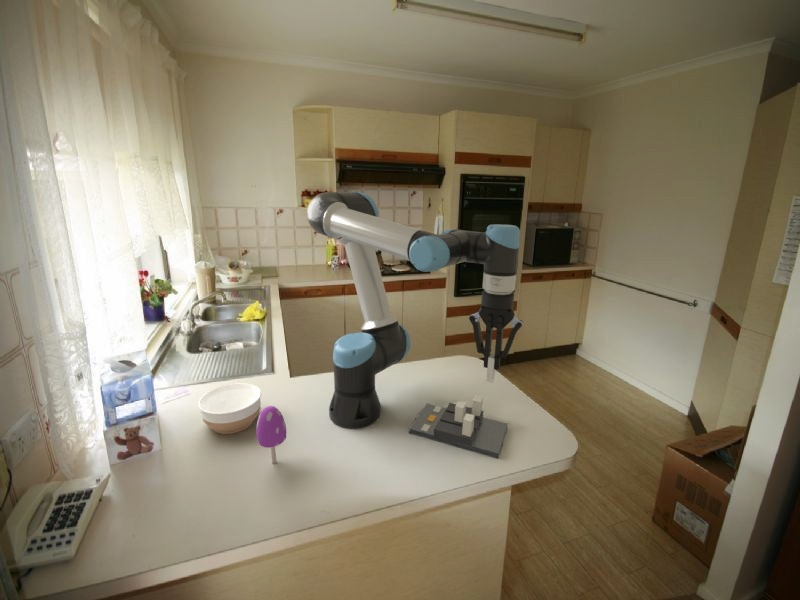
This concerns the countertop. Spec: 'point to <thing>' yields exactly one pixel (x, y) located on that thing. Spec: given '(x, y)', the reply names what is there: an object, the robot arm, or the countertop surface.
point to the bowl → (230, 407)
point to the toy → (271, 429)
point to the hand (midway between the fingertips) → (490, 379)
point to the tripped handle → (460, 411)
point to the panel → (483, 443)
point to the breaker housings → (457, 429)
